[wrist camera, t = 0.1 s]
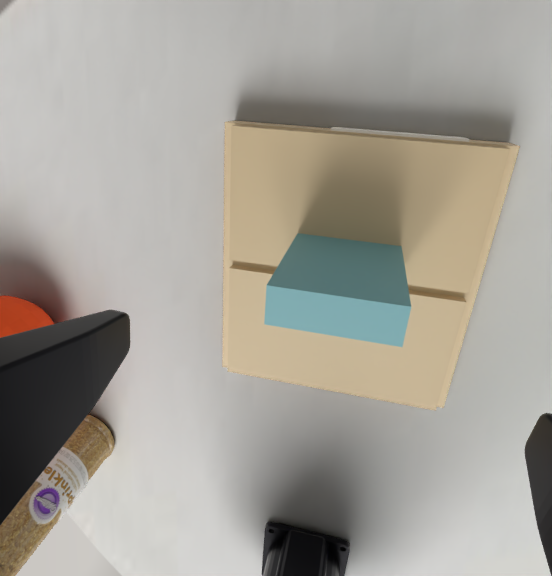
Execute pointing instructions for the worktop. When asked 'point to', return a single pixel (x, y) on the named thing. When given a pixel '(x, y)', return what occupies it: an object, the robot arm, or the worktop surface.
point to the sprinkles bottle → (53, 493)
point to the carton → (344, 351)
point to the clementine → (20, 316)
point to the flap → (357, 224)
